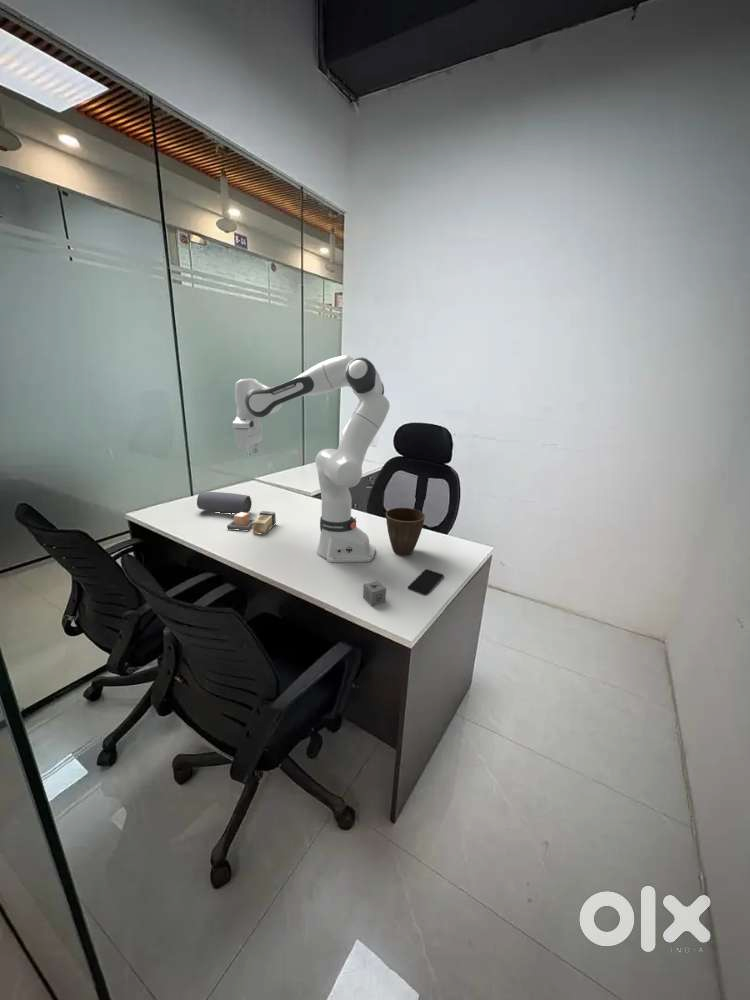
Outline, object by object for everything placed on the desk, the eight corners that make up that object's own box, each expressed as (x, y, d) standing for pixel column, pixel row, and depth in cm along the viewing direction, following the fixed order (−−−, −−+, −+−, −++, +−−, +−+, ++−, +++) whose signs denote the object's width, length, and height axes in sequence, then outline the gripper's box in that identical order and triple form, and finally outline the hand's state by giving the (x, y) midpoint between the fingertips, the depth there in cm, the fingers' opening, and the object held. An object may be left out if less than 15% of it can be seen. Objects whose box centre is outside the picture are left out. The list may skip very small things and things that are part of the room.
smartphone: (406, 588, 119) (425, 568, 131) (406, 590, 120) (425, 571, 132) (426, 595, 116) (444, 574, 128) (426, 598, 116) (444, 577, 128)
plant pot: (389, 562, 136) (392, 522, 131) (378, 544, 149) (381, 508, 144) (426, 559, 140) (431, 520, 135) (413, 542, 153) (416, 506, 148)
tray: (256, 523, 163) (255, 519, 163) (248, 531, 155) (247, 527, 154) (236, 521, 164) (236, 518, 163) (227, 529, 155) (227, 525, 155)
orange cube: (241, 522, 162) (241, 511, 160) (249, 523, 161) (248, 513, 159) (234, 526, 157) (233, 515, 156) (242, 527, 156) (242, 516, 155)
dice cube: (363, 598, 113) (363, 584, 112) (376, 594, 116) (377, 580, 114) (371, 606, 109) (372, 592, 108) (385, 602, 112) (386, 588, 110)
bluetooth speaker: (252, 511, 177) (251, 492, 174) (244, 518, 168) (243, 498, 165) (207, 507, 179) (205, 488, 175) (197, 514, 170) (195, 493, 167)
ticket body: (275, 523, 164) (275, 511, 162) (266, 534, 152) (265, 521, 151) (261, 522, 164) (261, 510, 162) (251, 533, 153) (250, 520, 151)
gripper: (251, 417, 156) (253, 449, 160) (230, 423, 136) (233, 460, 141) (265, 418, 155) (267, 450, 160) (246, 424, 136) (249, 460, 141)
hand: (251, 455), depth 150 cm, fingers open, 8 cm apart
